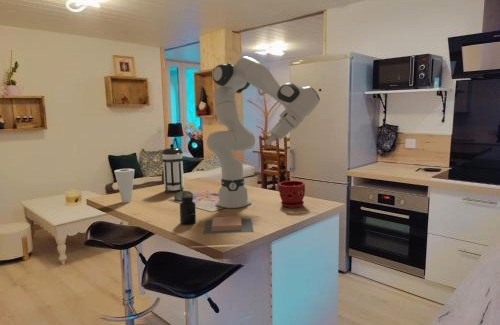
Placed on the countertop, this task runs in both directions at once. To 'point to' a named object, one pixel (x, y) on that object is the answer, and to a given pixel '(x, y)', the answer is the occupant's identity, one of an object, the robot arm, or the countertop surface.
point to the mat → (245, 225)
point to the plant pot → (292, 193)
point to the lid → (182, 193)
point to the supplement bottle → (187, 210)
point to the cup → (125, 183)
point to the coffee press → (173, 169)
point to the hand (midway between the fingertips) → (266, 143)
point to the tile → (226, 223)
